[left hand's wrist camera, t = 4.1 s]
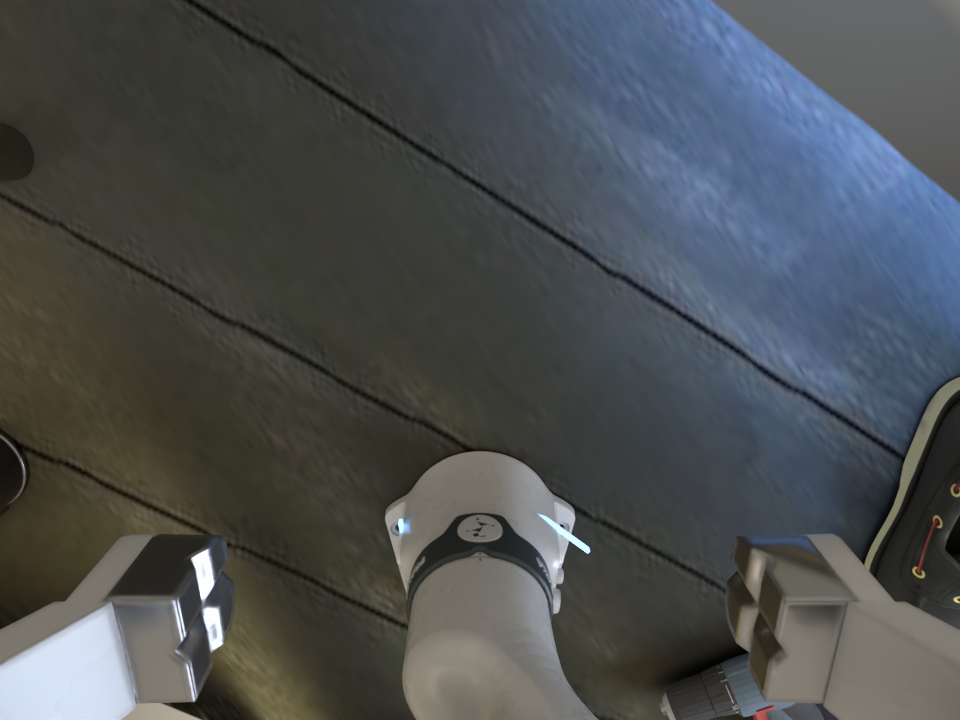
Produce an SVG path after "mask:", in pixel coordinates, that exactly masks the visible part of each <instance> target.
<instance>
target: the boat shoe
mask: <svg viewBox="0 0 960 720" xmlns="http://www.w3.org/2000/svg"><path fill="white" fill-rule="evenodd" d="M864 566H865V567H866V568H867V569H868V571H869V572H870V573H871V574H872V575H873V576H874V578H875V579H876V580H877V581H878V582H879V583H880V585H881V586H882V587H883V588H884V589H885V590H886V592H887V593H888V594H889V595H890V596H891V597H892V599H893V600H894V601H895V602H907V603H909V604H911V605H913V606H915V607H916V608H918V609H920V610H922V611H924V612H926V613H928V614H930V615H932V616H934V617H936V618H938V619H940V620H942V621H943V622H945V623H947V624H949V625H951V626H953V627H955V628H957V629H959V630H960V377H958V378H956V379H954V380H952V381H950V382H948V383H947V384H945V385H944V386H943V387H942V388H941V389H940V390H939V391H938V392H937V393H936V394H935V396H934V397H933V398H932V400H931V401H930V403H929V405H928V406H927V408H926V411H925V413H924V415H923V417H922V420H921V422H920V424H919V427H918V429H917V432H916V434H915V437H914V439H913V442H912V444H911V446H910V449H909V451H908V454H907V456H906V459H905V462H904V464H903V469H902V474H901V480H900V487H899V491H898V493H897V496H896V499H895V502H894V505H893V507H892V509H891V511H890V513H889V515H888V517H887V519H886V521H885V523H884V524H883V526H882V528H881V529H880V531H879V533H878V535H877V536H876V538H875V540H874V542H873V544H872V546H871V548H870V550H869V552H868V555H867V558H866V560H865V564H864Z"/></svg>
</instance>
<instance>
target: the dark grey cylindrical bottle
mask: <svg viewBox="0 0 960 720" xmlns="http://www.w3.org/2000/svg"><path fill="white" fill-rule="evenodd" d="M32 165H33V153H32V149H31V146H30V144H29V143H28V141H27V140H26V138H25V137H24V136H23V135H22V134H21V133H20V132H18V131H17V130H16V129H14V128H12V127H10V126H7V125H1V124H0V182H5V181H11V180H18V179H21V178H23V177H25V176H26V175H27V174H28V173H29V171H30V170H31V168H32Z"/></svg>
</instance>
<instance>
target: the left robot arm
mask: <svg viewBox="0 0 960 720" xmlns="http://www.w3.org/2000/svg"><path fill="white" fill-rule="evenodd" d="M385 522H386V525H387V529H388V532H389V536H390V539H391V542H392V546H393V549H394V553H395V556H396V560H397V563H398V566H399V570H400V573H401V577H402V580H403V584H404V587H405V591H406V599H407V618H408V622H409V628H408V636H407V643H406V650H405V658H404V665H403V672H402V682H403V690H404V694H405V698H406V701H407V703H408V706H409V708H410V710H411V712H412V713H413V715H414V717H415V718H416V720H598V719H597V718H596V717H595V716H594V715H593V714H592V713H591V712H590V711H589V709H588V708H587V707H586V706H585V705H584V704H583V703H582V702H581V700H580V699H579V698H578V696H577V695H576V694H575V693H574V691H573V690H572V688H571V687H570V685H569V684H568V682H567V680H566V678H565V676H564V674H563V671H562V669H561V665H560V662H559V658H558V654H557V651H556V646H555V642H554V637H553V632H552V627H551V622H552V618H553V613H554V614H556V613H558V612H559V609H560V602H561V593H560V590H558V589H556V588H555V587H556V584H562V582H563V576H564V572H563V569H561V567H562V563H563V560H564V556H565V553H566V549H567V546H568V542H569V540H570V541H571V542H572V543H574V544H575V545H577V546H578V547H579V548H581V549H582V550H584V551H585V552H586V553H589V552H590V549H589V547H588V546H586V545H585V544H584V543H582V542H581V541H579V540H578V539H577V538H575V537H574V536H573V535H571V532H572V529H573V525H574V522H575V512H574V509H573V507H572V506H571V505H570V504H568V503H567V502H565V501H564V500H562V499H560V498H559V497H557V496H555V495H553V494H552V493H551V492H550V491H549V490H548V488H547V487H546V486H545V484H544V483H543V482H542V480H541V479H540V478H539V476H538V475H537V474H536V473H535V472H534V471H533V470H532V469H530V468H529V467H528V466H527V465H525V464H523V463H522V462H520V461H518V460H516V459H514V458H512V457H509V456H507V455H504V454H500V453H495V452H488V451H472V452H465V453H460V454H456V455H453V456H451V457H448V458H446V459H444V460H442V461H440V462H438V463H437V464H435V465H434V466H432V467H431V468H430V469H428V470H427V471H426V472H425V473H424V474H423V475H422V476H421V478H420V479H419V480H418V482H417V483H416V484H415V486H414V487H413V489H412V490H411V491H410V492H409V493H408V494H407V495H405V496H403V497H401V498H400V499H398V500H396V501H395V502H393V503H392V504H391V505H389V506H388V507H387V509H386V512H385ZM560 524H562V525H563V526H562V527H560ZM397 525H398V526H399V527H398V526H397ZM228 560H229V554H228V549H227V544H226V540H225V539H224V538H223V537H221V536H220V535H174V534H159V535H156V534H128V535H125V536H122V537H120V538H119V539H118V540H117V541H116V543H115V544H114V545H113V546H112V547H111V548H110V550H109V551H108V552H107V553H106V554H105V555H104V557H103V558H102V559H101V560H100V561H99V562H98V564H97V565H96V566H95V567H94V568H93V569H92V571H91V572H90V573H89V574H88V575H87V576H86V578H85V579H84V580H83V581H82V582H81V583H80V585H79V586H78V587H77V588H76V589H75V590H74V592H73V593H72V594H71V595H70V596H69V597H68V599H67V600H66V601H65V602H53V603H51V604H49V605H47V606H45V607H44V608H42V609H40V610H38V611H36V612H34V613H32V614H30V615H28V616H26V617H24V618H22V619H20V620H18V621H16V622H15V623H13V624H11V625H9V626H7V627H5V628H3V629H1V630H0V720H121V719H123V718H124V717H125V716H126V715H127V714H128V713H130V712H131V711H132V710H133V709H134V708H135V707H136V703H167V702H195V701H196V699H197V697H198V695H199V693H200V691H201V689H202V687H203V685H204V683H205V681H206V679H207V677H208V675H209V673H210V671H211V669H212V667H213V663H212V657H211V652H212V651H213V650H215V649H216V648H218V647H219V646H220V645H222V644H223V643H224V642H225V640H226V637H227V635H228V633H229V631H230V629H231V624H232V620H233V615H234V610H235V591H234V585H233V581H232V580H231V579H230V578H229V577H228V576H227V575H226V574H225V573H224V572H223V571H222V570H223V569H224V567H225V565H226V563H227V561H228ZM731 560H732V561H733V563H734V565H735V567H736V569H737V570H738V571H737V572H736V573H735V574H734V575H733V576H732V577H731V578H730V579H729V580H728V581H727V585H726V593H725V607H726V617H727V621H728V624H729V628H730V631H731V633H732V635H733V637H734V640H735V642H736V643H737V644H738V645H740V646H741V647H742V648H744V649H745V650H747V651H748V652H749V657H748V663H747V667H748V669H749V671H750V673H751V675H752V677H753V679H754V681H755V683H756V685H757V687H758V689H759V691H760V693H761V695H762V697H763V699H764V701H765V702H792V703H824V705H823V706H824V707H825V708H826V709H827V710H828V711H830V712H831V713H832V714H833V715H834V716H835V717H837V718H838V719H839V720H960V630H959V629H957V628H955V627H953V626H951V625H949V624H947V623H945V622H943V621H942V620H940V619H938V618H936V617H934V616H932V615H930V614H928V613H926V612H924V611H922V610H920V609H918V608H916V607H915V606H913V605H911V604H909V603H907V602H895V601H894V600H893V599H892V597H891V596H890V595H889V594H888V593H887V592H886V590H885V589H884V588H883V587H882V586H881V585H880V583H879V582H878V581H877V580H876V579H875V578H874V576H873V575H872V574H871V573H870V572H869V571H868V569H867V568H866V567H865V566H864V565H863V564H862V562H861V561H860V560H859V559H858V558H857V557H856V556H855V554H854V553H853V552H852V551H851V550H850V549H849V547H848V546H847V545H846V544H845V543H844V542H843V540H842V539H841V538H840V537H838V536H836V535H834V534H806V535H799V536H737V537H736V539H735V542H734V544H733V547H732V553H731Z"/></svg>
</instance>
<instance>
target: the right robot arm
mask: <svg viewBox="0 0 960 720" xmlns="http://www.w3.org/2000/svg"><path fill="white" fill-rule="evenodd" d="M28 478H29V470H28V465H27V461H26V459H25V456H24V455H23V453H22V451H21V449H20V448H19V447H18V445H17V444H16V443H15V442H14V441H13V440H12V439H11V438H10V437H9V436H7V435H6V434H5V433H3V432H2V431H0V516H1V515H2V514H4V513H5V512H6V511H7V510H8V509H9V504H10V503H11V502H13V501H14V500H15V499H17V498H18V497H19V496H20V495H21V494H22V493H23V491H24V490H25V488H26V486H27V483H28Z"/></svg>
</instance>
